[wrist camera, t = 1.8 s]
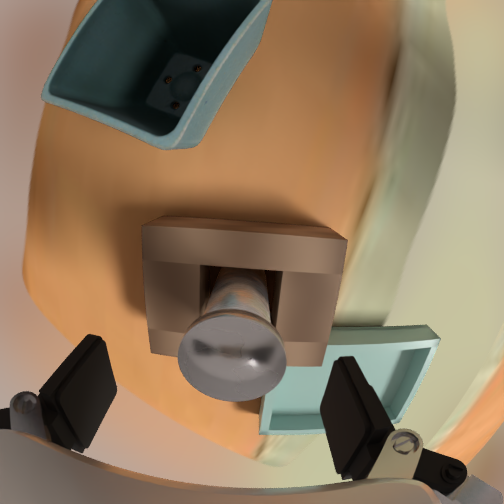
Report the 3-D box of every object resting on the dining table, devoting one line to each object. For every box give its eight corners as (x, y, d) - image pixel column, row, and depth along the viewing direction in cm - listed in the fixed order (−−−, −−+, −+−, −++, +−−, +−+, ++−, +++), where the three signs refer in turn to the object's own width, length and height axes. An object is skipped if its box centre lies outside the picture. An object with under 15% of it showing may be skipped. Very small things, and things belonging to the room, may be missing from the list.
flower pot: (112, 121, 17) (35, 99, 8) (168, 28, 15) (126, -35, 6) (210, 165, 18) (171, 154, 9) (269, 63, 16) (278, -10, 7)
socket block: (330, 227, 19) (347, 240, 15) (312, 337, 21) (321, 366, 18) (163, 216, 19) (141, 225, 15) (166, 325, 21) (151, 353, 17)
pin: (276, 253, 20) (294, 322, 10) (270, 311, 21) (279, 403, 11) (211, 249, 20) (174, 312, 10) (210, 306, 21) (181, 395, 11)
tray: (426, 324, 21) (440, 338, 19) (391, 406, 24) (399, 422, 21) (271, 325, 21) (272, 343, 19) (258, 414, 24) (259, 434, 21)
